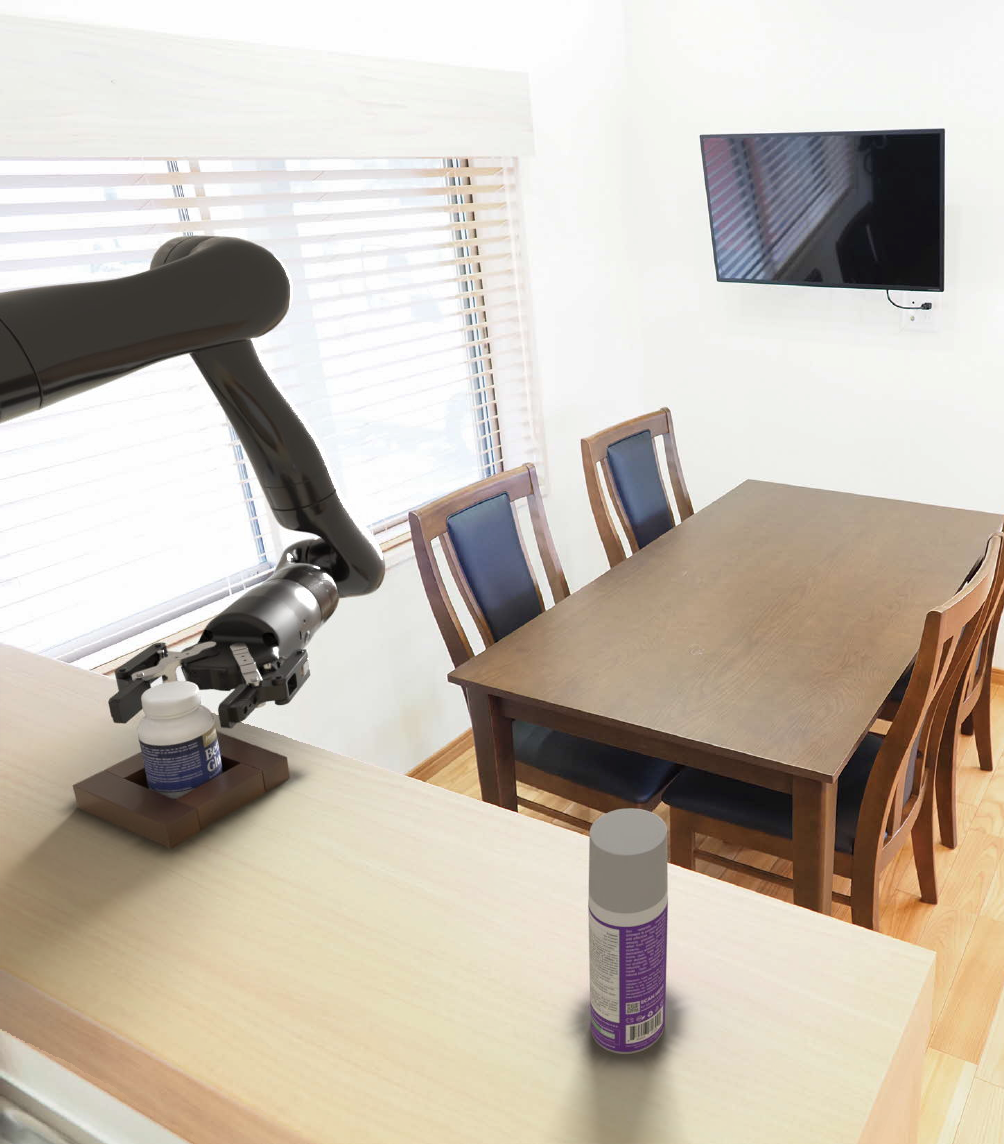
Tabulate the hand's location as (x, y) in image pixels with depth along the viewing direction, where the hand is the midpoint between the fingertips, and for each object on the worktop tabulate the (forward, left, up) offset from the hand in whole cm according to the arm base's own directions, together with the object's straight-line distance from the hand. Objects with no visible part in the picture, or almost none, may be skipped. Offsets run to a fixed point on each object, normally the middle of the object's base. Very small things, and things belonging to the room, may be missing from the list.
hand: (170, 716), depth 78 cm
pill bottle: (0, 0, -8) cm, 8 cm away
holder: (0, 0, -8) cm, 8 cm away
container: (+39, -22, -8) cm, 46 cm away
